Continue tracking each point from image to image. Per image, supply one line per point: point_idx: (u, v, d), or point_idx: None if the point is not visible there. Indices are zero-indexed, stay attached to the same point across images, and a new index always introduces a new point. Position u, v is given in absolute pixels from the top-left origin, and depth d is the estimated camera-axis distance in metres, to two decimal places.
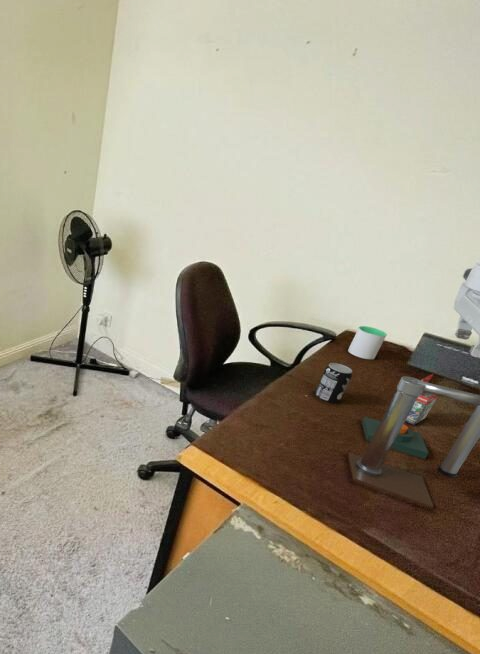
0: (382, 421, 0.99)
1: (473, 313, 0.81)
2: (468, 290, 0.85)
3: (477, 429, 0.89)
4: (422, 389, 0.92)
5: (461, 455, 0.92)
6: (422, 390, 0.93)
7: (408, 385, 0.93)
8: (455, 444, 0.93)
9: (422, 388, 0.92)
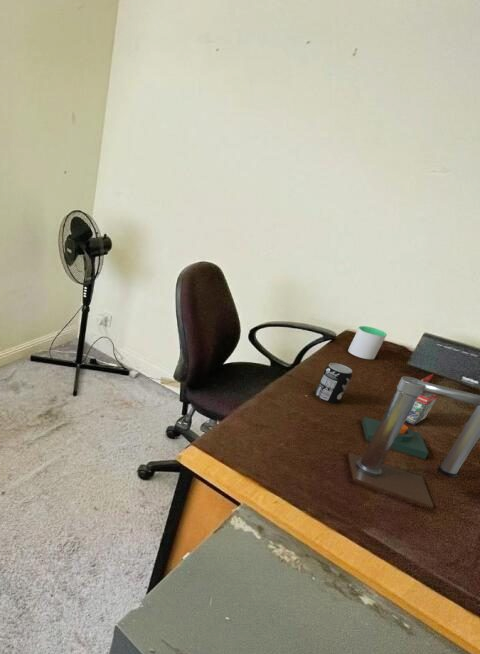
0: (382, 421, 0.99)
1: None
2: None
3: (477, 429, 0.89)
4: (422, 389, 0.92)
5: (461, 455, 0.92)
6: (422, 390, 0.93)
7: (408, 385, 0.93)
8: (455, 444, 0.93)
9: (422, 388, 0.92)
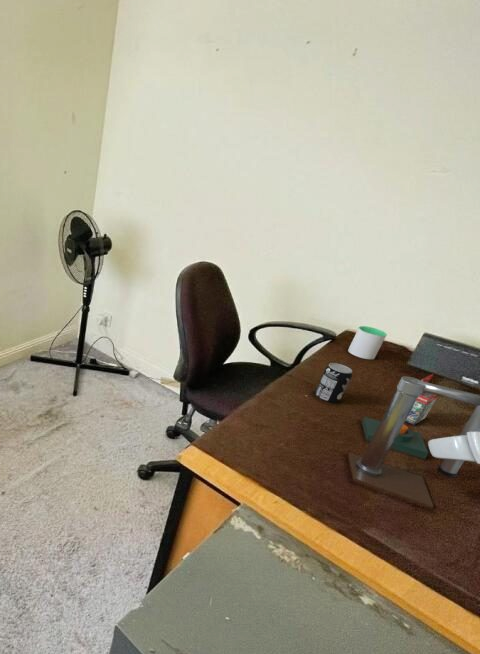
0: (382, 421, 0.99)
1: None
2: None
3: (477, 429, 0.89)
4: (422, 389, 0.92)
5: None
6: (422, 390, 0.93)
7: (408, 385, 0.93)
8: None
9: (422, 388, 0.92)
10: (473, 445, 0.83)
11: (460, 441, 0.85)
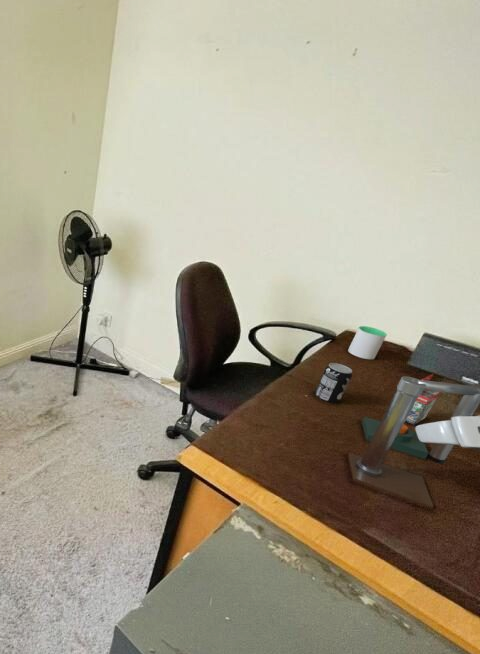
0: (382, 421, 0.99)
1: None
2: None
3: None
4: (424, 388, 0.93)
5: None
6: (423, 389, 0.93)
7: (413, 387, 0.93)
8: None
9: (423, 387, 0.93)
10: (457, 429, 0.87)
11: (445, 426, 0.89)
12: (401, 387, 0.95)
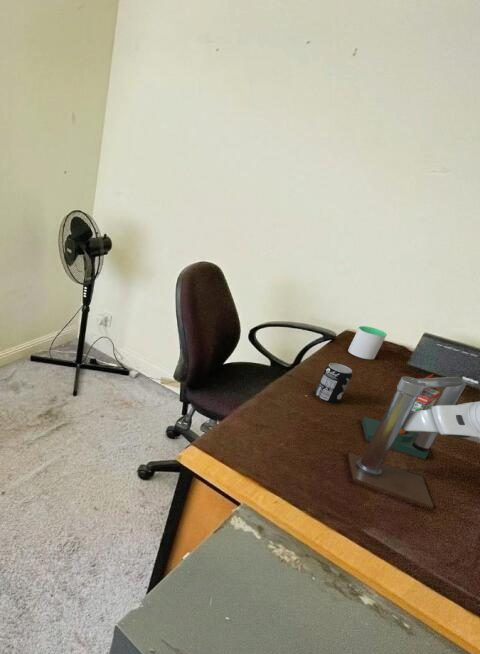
0: (382, 421, 0.99)
1: None
2: None
3: None
4: None
5: None
6: None
7: (417, 387, 0.92)
8: None
9: None
10: (436, 417, 0.91)
11: (426, 414, 0.93)
12: (404, 389, 0.94)
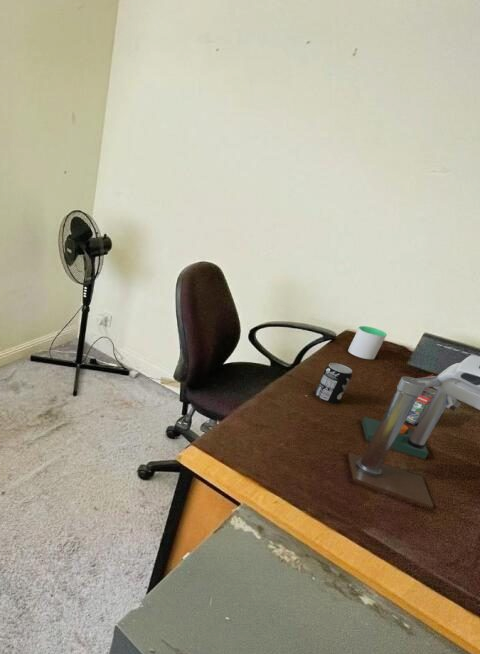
0: (382, 421, 0.99)
1: None
2: (458, 381, 0.91)
3: (446, 404, 0.97)
4: None
5: (432, 428, 1.00)
6: None
7: (418, 388, 0.92)
8: (426, 420, 1.00)
9: None
10: (461, 362, 0.91)
11: (456, 364, 0.93)
12: (405, 389, 0.94)
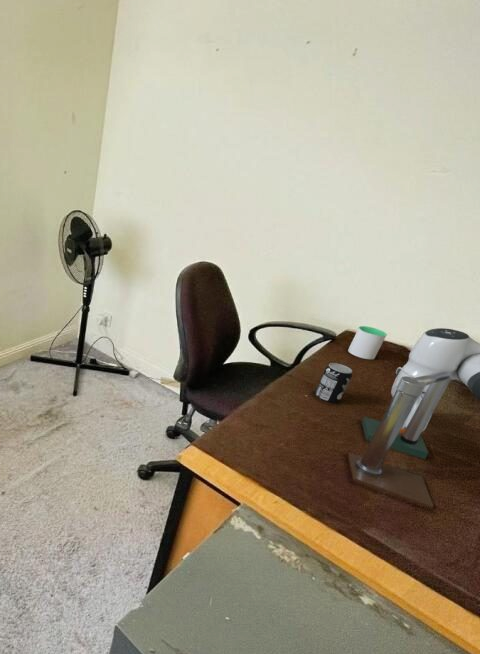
0: (382, 421, 0.99)
1: None
2: None
3: (438, 400, 0.99)
4: None
5: (425, 424, 1.02)
6: None
7: (419, 388, 0.92)
8: (420, 417, 1.02)
9: None
10: None
11: None
12: (406, 390, 0.94)
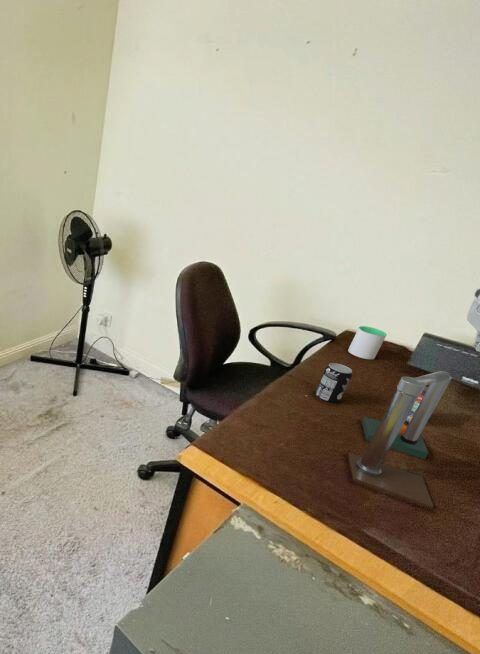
0: (382, 421, 0.99)
1: None
2: (478, 306, 1.09)
3: (438, 400, 0.99)
4: None
5: (425, 424, 1.02)
6: None
7: (419, 388, 0.92)
8: (420, 417, 1.02)
9: None
10: None
11: None
12: (406, 390, 0.94)
